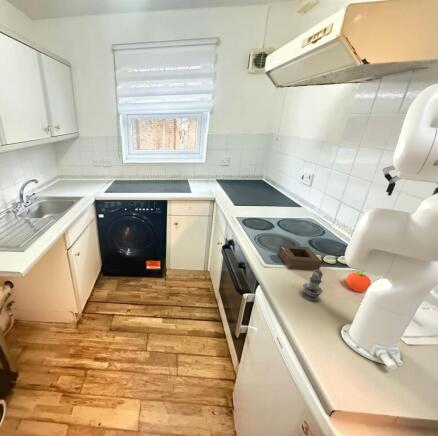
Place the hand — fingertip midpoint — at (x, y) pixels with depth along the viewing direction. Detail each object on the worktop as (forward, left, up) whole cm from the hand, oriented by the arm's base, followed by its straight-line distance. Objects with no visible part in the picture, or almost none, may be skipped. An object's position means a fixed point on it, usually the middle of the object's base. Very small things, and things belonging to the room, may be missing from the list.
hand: (409, 197), depth 76 cm
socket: (+15, +19, -36) cm, 44 cm away
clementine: (-1, +5, -36) cm, 37 cm away
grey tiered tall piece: (-8, +24, -36) cm, 44 cm away
